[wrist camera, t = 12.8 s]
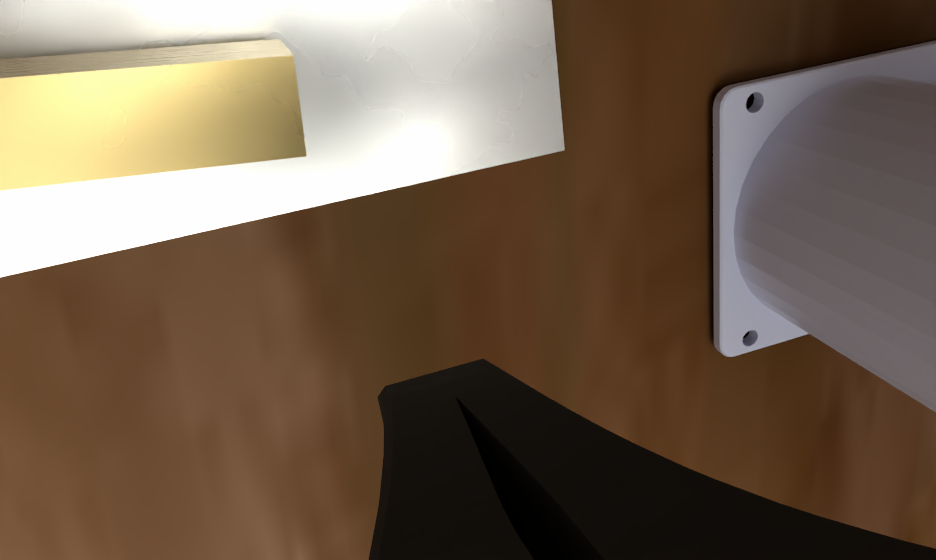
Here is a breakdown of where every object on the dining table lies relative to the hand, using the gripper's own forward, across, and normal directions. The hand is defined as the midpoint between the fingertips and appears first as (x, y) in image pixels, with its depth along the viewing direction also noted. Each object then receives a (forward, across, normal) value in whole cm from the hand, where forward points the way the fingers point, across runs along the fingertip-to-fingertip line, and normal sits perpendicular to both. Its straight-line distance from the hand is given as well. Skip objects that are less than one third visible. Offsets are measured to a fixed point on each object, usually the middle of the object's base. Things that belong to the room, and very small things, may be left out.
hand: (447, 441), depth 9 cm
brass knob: (+9, +4, -4) cm, 11 cm away
